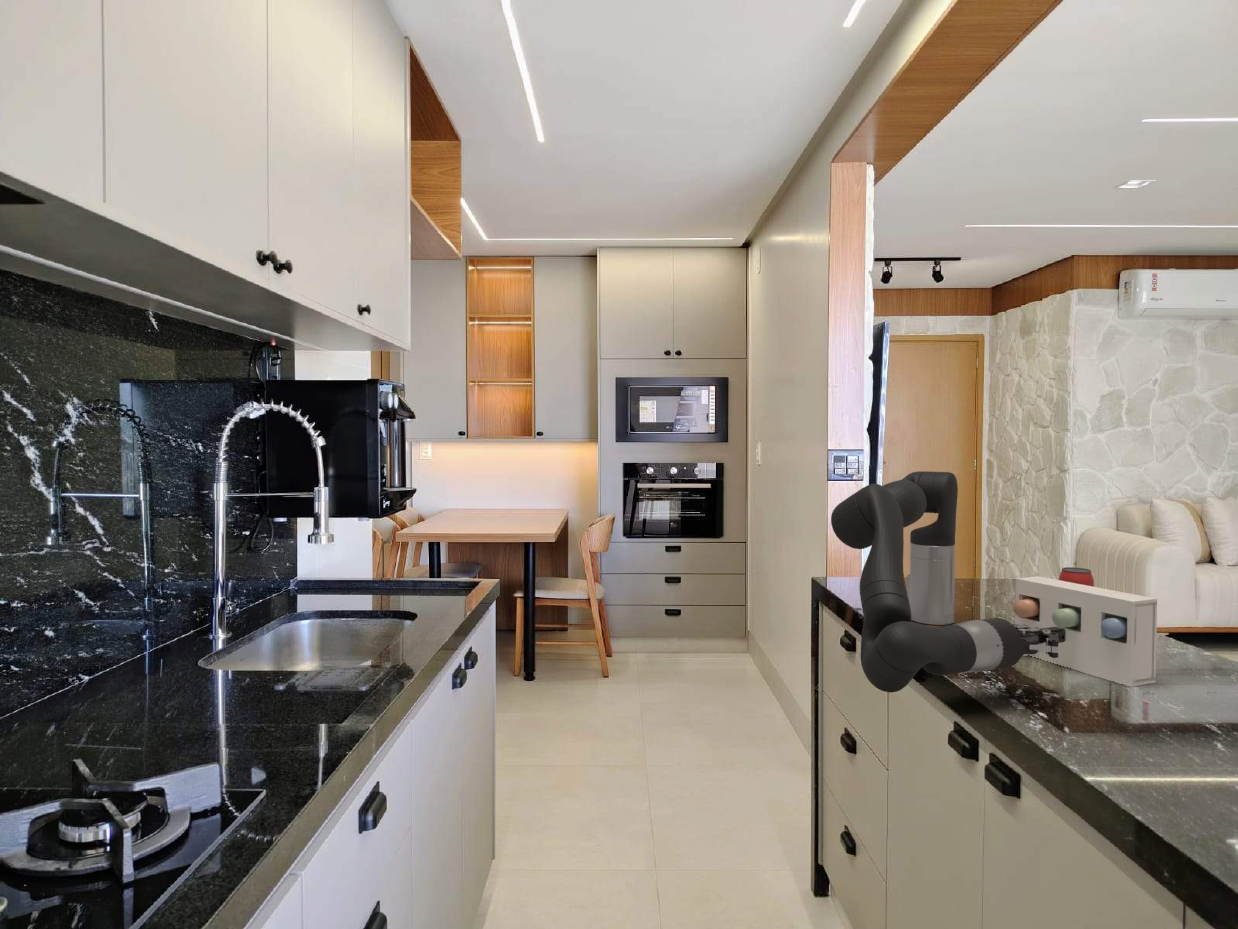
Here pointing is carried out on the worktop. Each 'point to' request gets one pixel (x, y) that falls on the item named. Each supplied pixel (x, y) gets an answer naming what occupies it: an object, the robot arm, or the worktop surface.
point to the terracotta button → (1027, 608)
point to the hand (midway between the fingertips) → (1061, 634)
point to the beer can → (1077, 576)
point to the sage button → (1067, 617)
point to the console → (1096, 629)
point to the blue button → (1114, 627)
